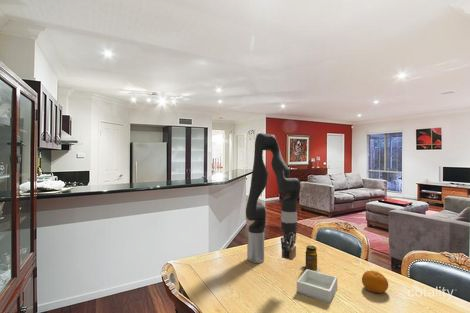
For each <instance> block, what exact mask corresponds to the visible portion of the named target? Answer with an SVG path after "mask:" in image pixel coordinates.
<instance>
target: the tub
mask: <svg viewBox="0 0 470 313" xmlns="http://www.w3.org/2000/svg"><path fill="white" fill-rule="evenodd" d="M337 290H338V276H334V275H331V274H327V273H323V272H320V271H312V270H308V269H306V271H304V272H303V273H302V274H301V275H300V277H299V278H298V280H297V281H296V293H297V294H300V295H303V296H306V297H310V298H313V299H316V300H319V301H322V302H325V303H328V304H331V303H332V300H333V298H334V296H335V294H336V292H337Z"/></svg>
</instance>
